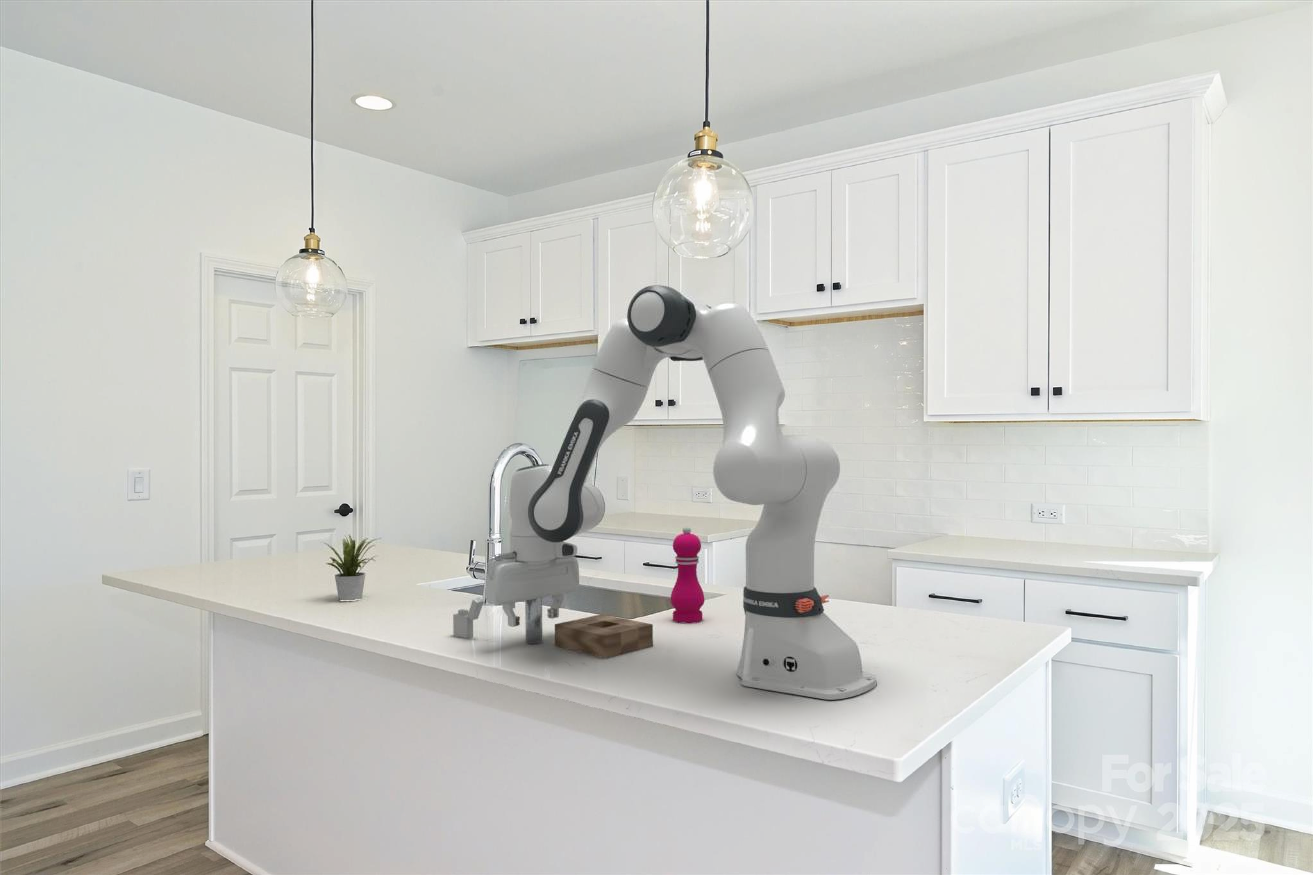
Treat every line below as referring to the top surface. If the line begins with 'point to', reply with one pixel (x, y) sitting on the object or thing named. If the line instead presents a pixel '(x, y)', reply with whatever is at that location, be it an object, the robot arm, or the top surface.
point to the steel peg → (533, 621)
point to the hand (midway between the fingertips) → (533, 621)
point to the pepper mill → (687, 579)
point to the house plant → (350, 570)
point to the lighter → (466, 619)
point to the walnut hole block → (603, 635)
